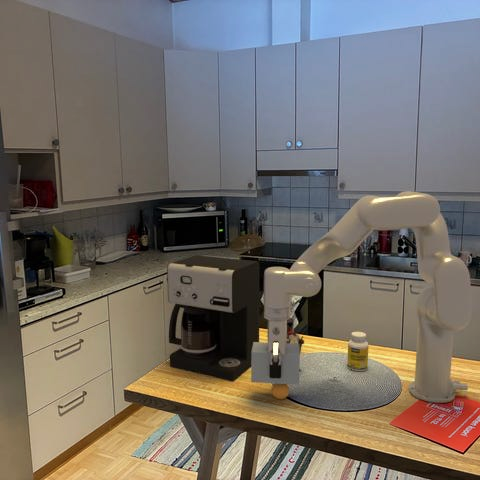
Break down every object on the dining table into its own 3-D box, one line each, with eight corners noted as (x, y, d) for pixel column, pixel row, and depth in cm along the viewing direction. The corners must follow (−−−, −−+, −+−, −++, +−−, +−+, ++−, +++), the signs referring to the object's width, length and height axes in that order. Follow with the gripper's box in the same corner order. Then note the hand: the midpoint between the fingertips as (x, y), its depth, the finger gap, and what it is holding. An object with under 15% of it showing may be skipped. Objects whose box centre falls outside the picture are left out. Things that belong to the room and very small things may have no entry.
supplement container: (278, 351, 173) (278, 323, 171) (272, 344, 179) (272, 317, 177) (296, 349, 174) (296, 321, 173) (289, 343, 181) (289, 316, 179)
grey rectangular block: (298, 372, 141) (299, 343, 139) (299, 384, 133) (299, 354, 132) (253, 370, 142) (253, 341, 141) (251, 382, 134) (251, 352, 133)
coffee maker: (158, 365, 161) (155, 262, 156) (190, 345, 178) (188, 252, 173) (232, 382, 148) (231, 271, 143) (259, 359, 165) (259, 259, 160)
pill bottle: (344, 369, 157) (345, 335, 155) (350, 362, 163) (351, 329, 161) (364, 373, 154) (366, 338, 152) (369, 366, 160) (371, 332, 158)
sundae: (279, 368, 159) (279, 324, 156) (297, 365, 161) (298, 321, 159) (288, 376, 152) (288, 330, 150) (307, 373, 155) (308, 328, 152)
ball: (268, 384, 141) (279, 397, 141) (267, 392, 136) (278, 405, 136) (281, 374, 140) (292, 387, 140) (281, 382, 135) (292, 395, 135)
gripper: (290, 322, 126) (289, 385, 128) (290, 303, 143) (288, 359, 145) (261, 321, 126) (260, 384, 129) (264, 302, 143) (263, 358, 146)
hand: (275, 371), depth 137 cm, fingers closed on grey rectangular block, 7 cm apart
